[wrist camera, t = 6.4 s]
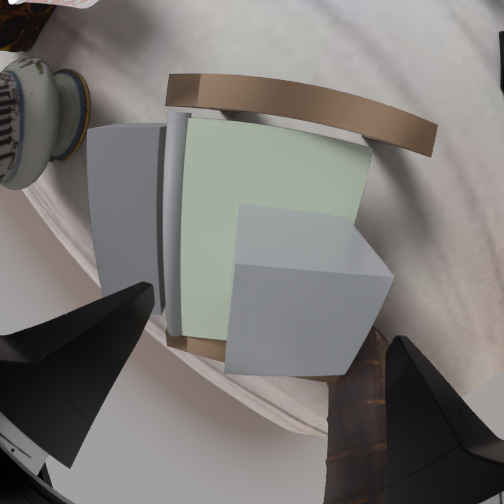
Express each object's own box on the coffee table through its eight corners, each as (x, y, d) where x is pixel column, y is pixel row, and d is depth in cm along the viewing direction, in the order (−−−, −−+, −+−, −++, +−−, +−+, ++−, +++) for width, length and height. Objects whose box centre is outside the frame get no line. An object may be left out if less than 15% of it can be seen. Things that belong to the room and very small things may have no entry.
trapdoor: (338, 134, 15) (374, 144, 10) (298, 299, 21) (310, 347, 16) (120, 112, 14) (77, 116, 9) (126, 280, 19) (102, 323, 15)
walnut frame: (385, 122, 15) (437, 125, 8) (331, 309, 23) (335, 383, 16) (221, 90, 16) (169, 74, 9) (203, 282, 24) (167, 345, 17)
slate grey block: (346, 217, 12) (394, 277, 8) (320, 301, 14) (344, 374, 10) (238, 203, 12) (235, 263, 7) (229, 295, 14) (224, 373, 10)
